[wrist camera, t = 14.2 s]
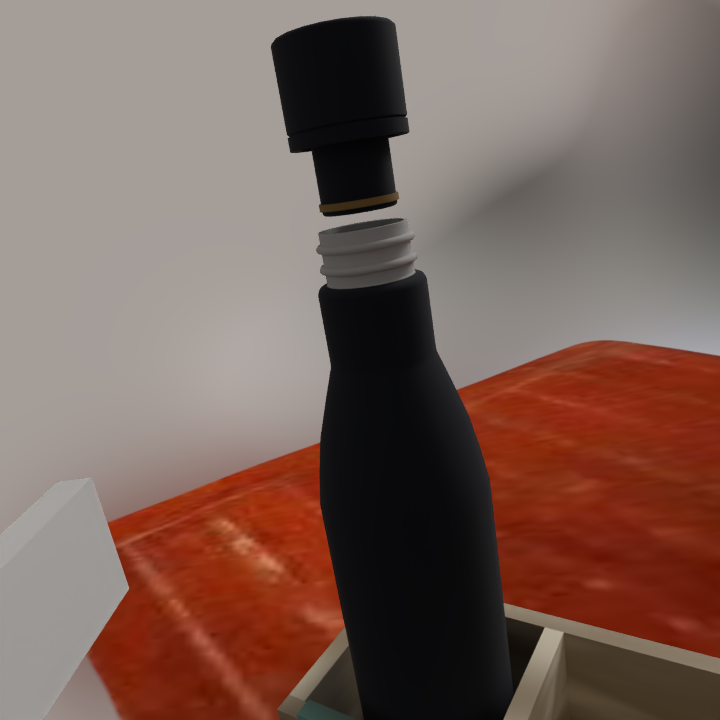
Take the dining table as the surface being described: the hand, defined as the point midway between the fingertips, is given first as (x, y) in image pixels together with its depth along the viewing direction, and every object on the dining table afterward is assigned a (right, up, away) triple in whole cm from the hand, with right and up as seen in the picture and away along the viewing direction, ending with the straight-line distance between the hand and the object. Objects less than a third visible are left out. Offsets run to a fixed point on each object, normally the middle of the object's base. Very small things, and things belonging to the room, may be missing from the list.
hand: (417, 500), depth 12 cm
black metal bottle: (+3, -16, +16) cm, 22 cm away
